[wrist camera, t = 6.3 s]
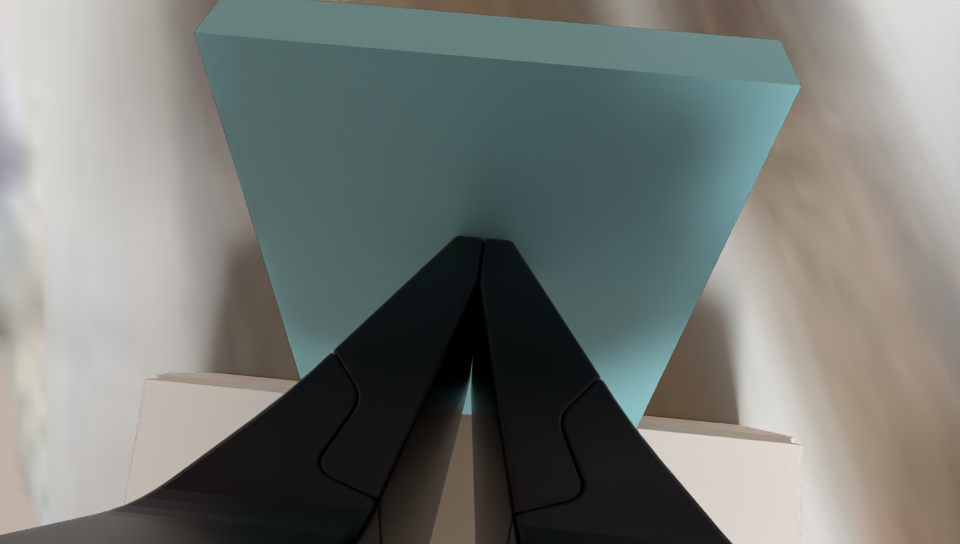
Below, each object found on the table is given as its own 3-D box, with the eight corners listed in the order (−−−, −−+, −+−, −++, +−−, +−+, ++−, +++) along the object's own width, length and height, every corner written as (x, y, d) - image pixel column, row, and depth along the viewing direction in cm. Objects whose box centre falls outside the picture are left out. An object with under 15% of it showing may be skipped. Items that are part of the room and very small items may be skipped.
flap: (634, 431, 13) (800, 85, 7) (306, 398, 13) (194, 33, 7) (631, 389, 14) (780, 41, 8) (318, 357, 14) (225, -7, 8)
